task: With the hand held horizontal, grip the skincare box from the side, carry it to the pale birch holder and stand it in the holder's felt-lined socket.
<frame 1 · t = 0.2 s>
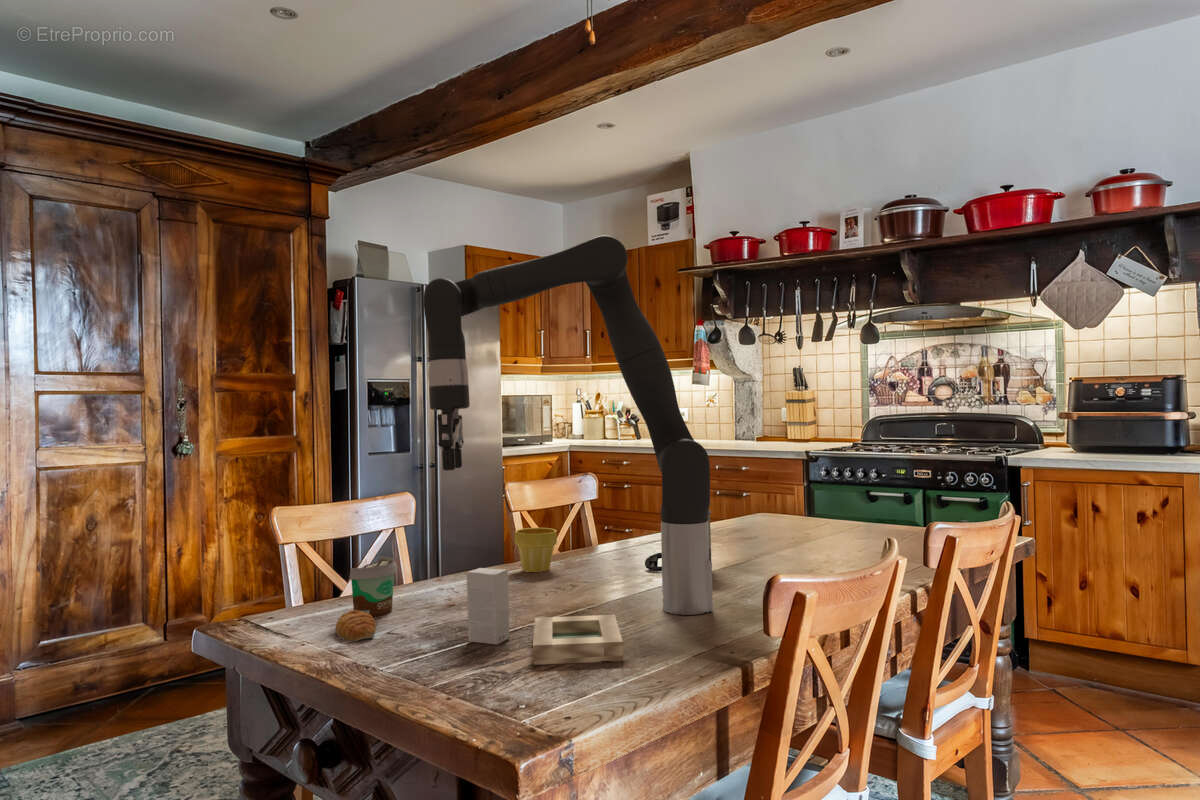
hand: (452, 469, 149), 29 cm above the table, tool pointing down, fingers open, 8 cm apart
food container: (380, 614, 154), on the table
holder: (576, 647, 129), on the table
plant pot: (536, 571, 192), on the table
pastry: (358, 636, 140), on the table
milk frother: (678, 573, 186), on the table
skincare box: (488, 641, 135), on the table
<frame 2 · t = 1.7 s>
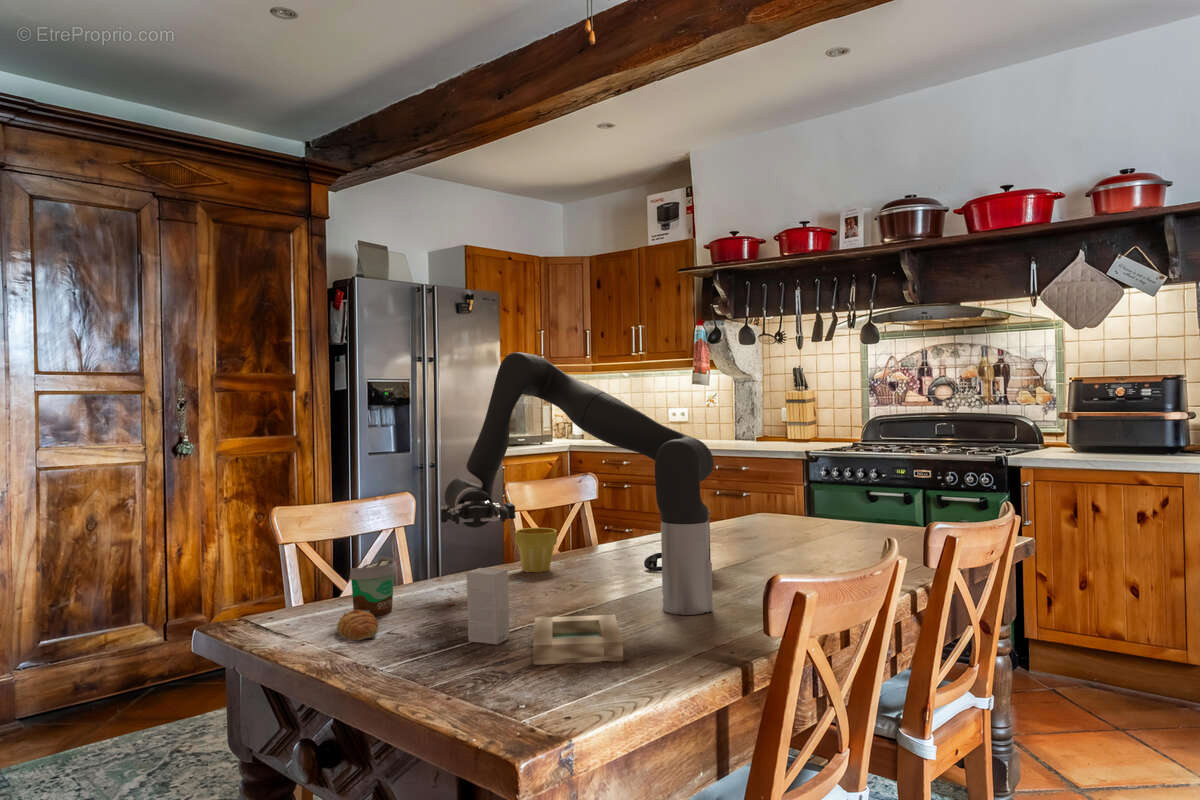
hand: (480, 517, 145), 20 cm above the table, tool horizontal, fingers open, 8 cm apart
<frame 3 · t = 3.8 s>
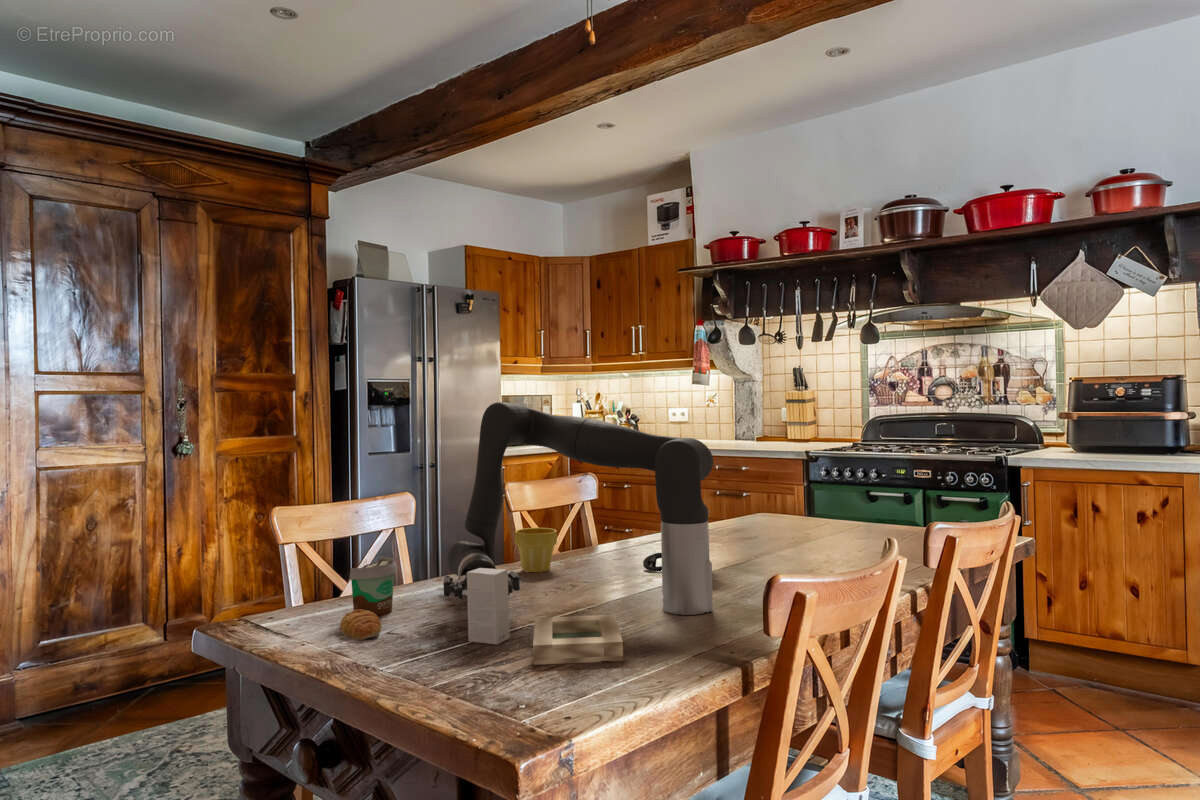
hand: (484, 591, 142), 7 cm above the table, tool horizontal, fingers open, 8 cm apart
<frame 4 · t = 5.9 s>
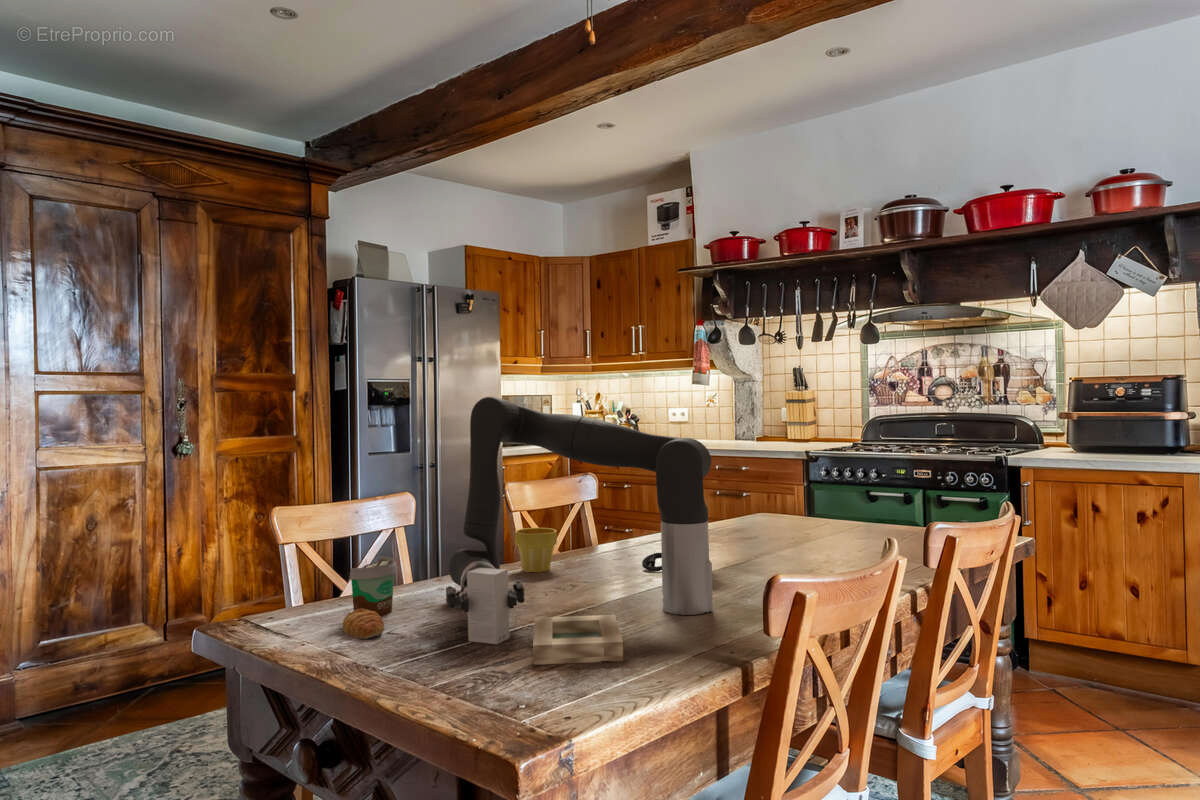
hand: (489, 604, 133), 7 cm above the table, tool horizontal, fingers closed on skincare box, 7 cm apart
skincare box: (488, 641, 135), on the table, touching gripper
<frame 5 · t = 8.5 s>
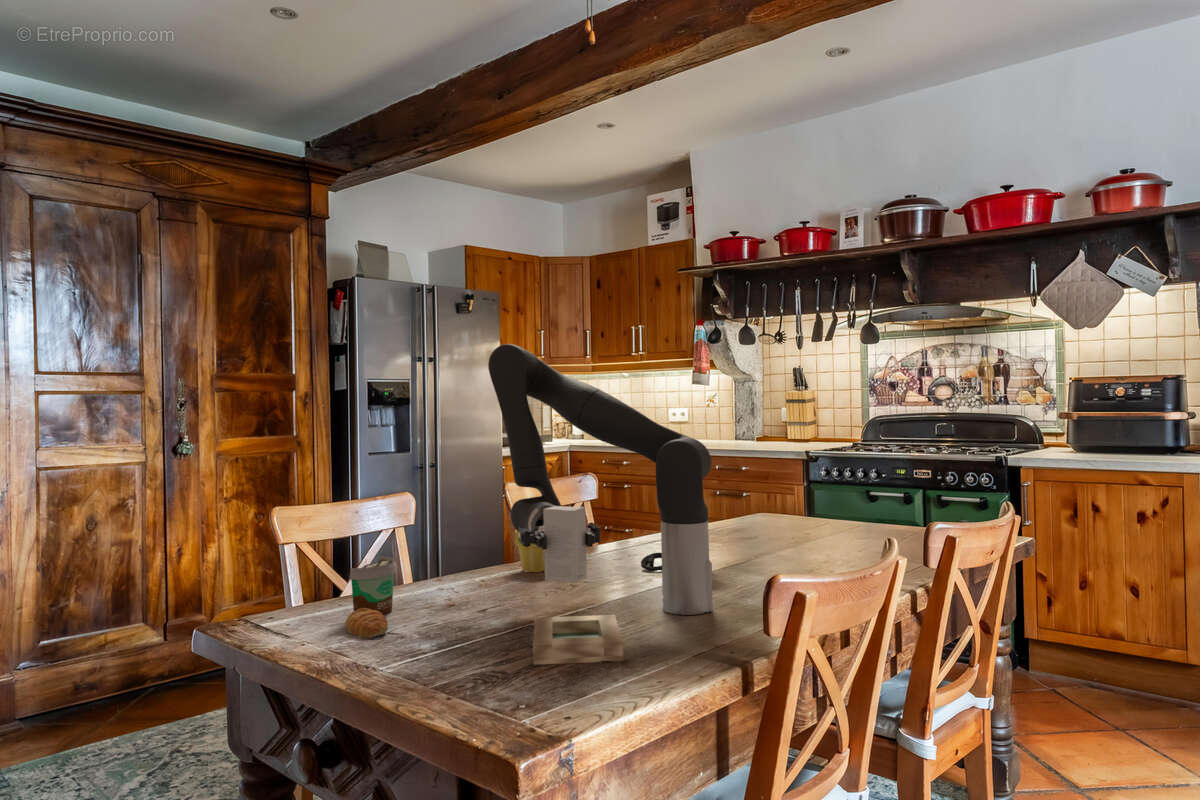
hand: (567, 541, 128), 18 cm above the table, tool horizontal, fingers closed on skincare box, 7 cm apart
skincare box: (565, 580, 130), point 11 cm above the table, touching gripper
when the fingers open (9 cm above the table, at t = 11.4 s): skincare box drops 1 cm, resting on holder.
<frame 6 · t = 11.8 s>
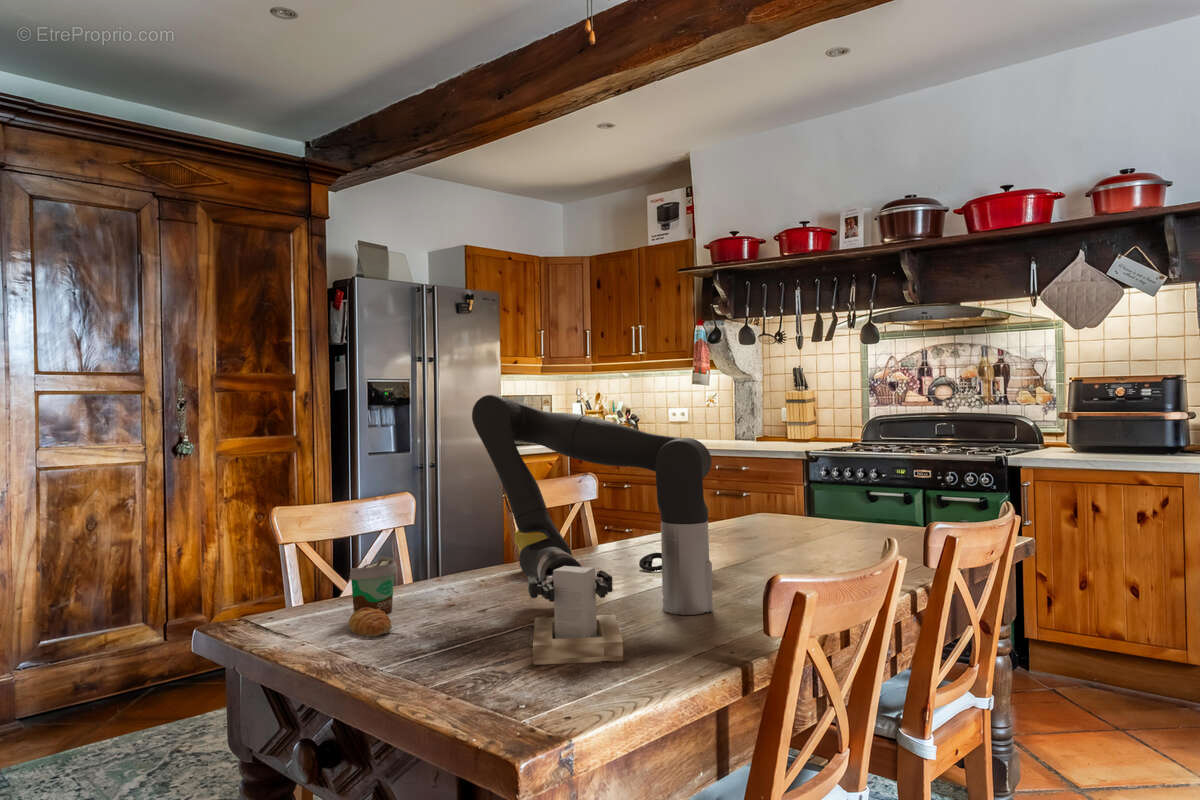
hand: (577, 593, 128), 9 cm above the table, tool horizontal, fingers open, 8 cm apart
skincare box: (575, 642, 130), point 1 cm above the table, touching holder
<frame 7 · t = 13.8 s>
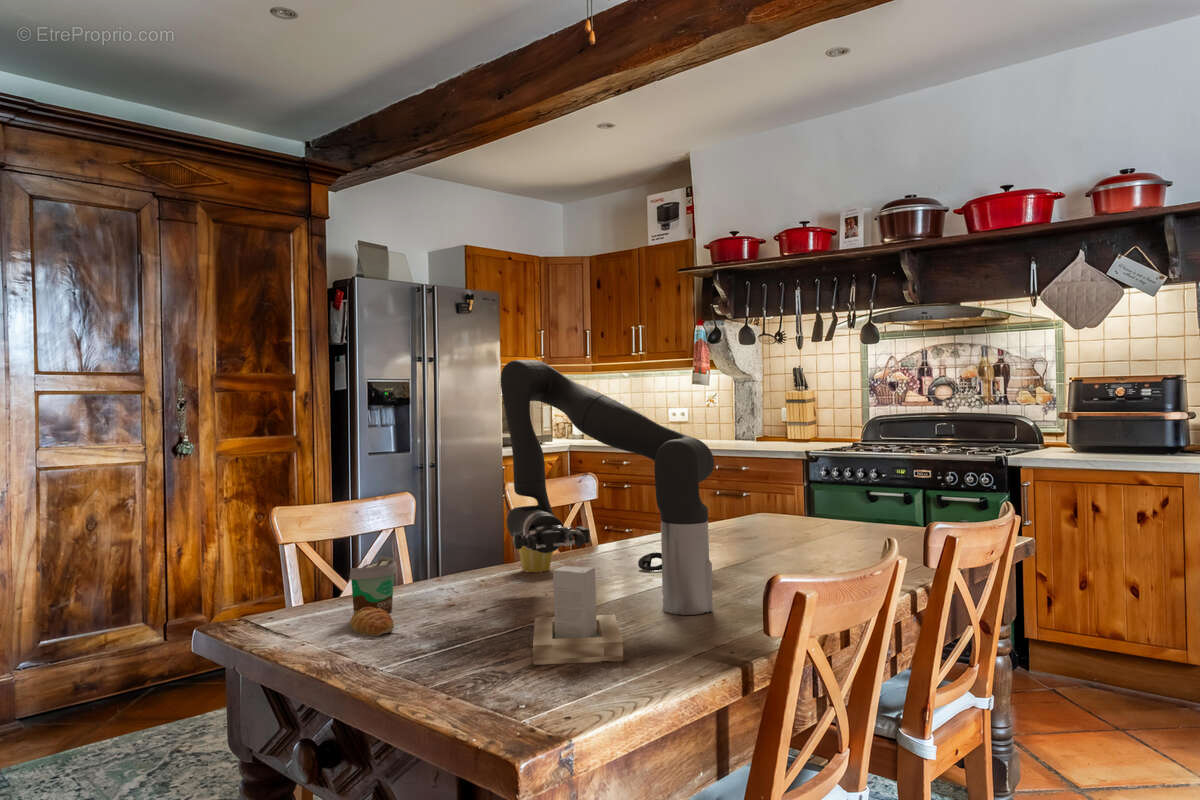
hand: (557, 542, 142), 15 cm above the table, tool horizontal, fingers open, 8 cm apart
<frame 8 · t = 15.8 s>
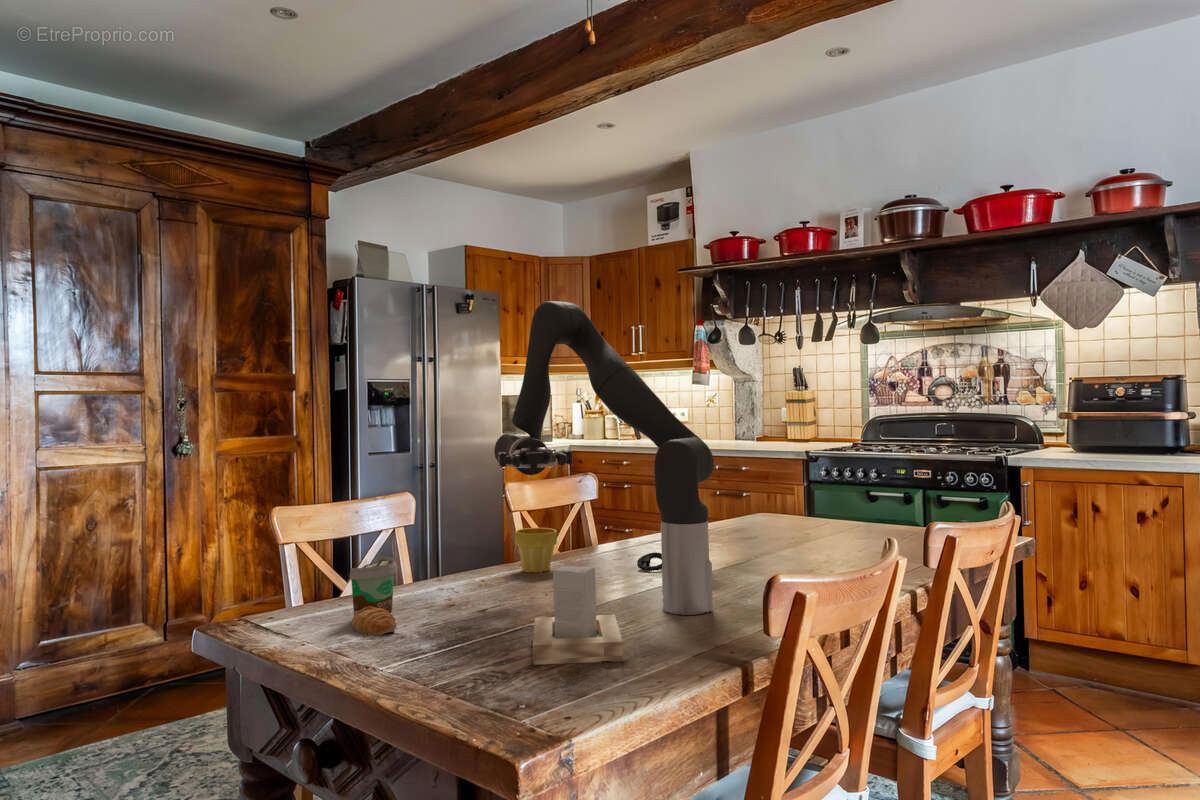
hand: (540, 460, 146), 30 cm above the table, tool horizontal, fingers open, 8 cm apart
at the end: skincare box inside the target area on the holder (0.1 cm from its centre), point 0.8 cm above the holder's base; skincare box tilted 0°; the gripper is holding nothing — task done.
